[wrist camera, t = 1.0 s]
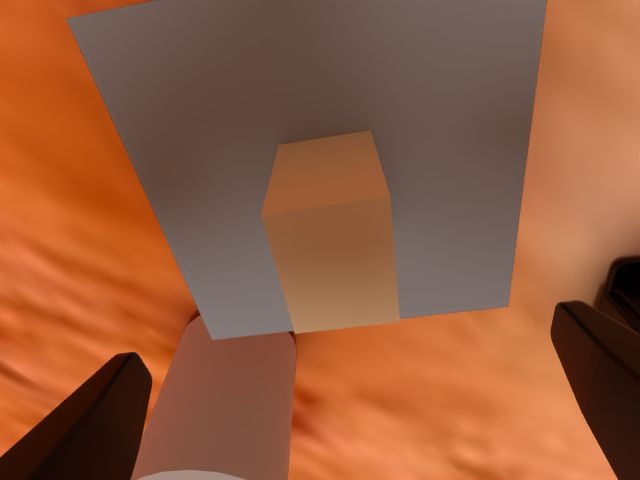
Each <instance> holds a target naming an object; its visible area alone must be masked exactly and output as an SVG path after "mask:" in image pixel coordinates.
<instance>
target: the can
mask: <svg viewBox="0 0 640 480" xmlns="http://www.w3.org/2000/svg"><path fill="white" fill-rule="evenodd" d="M296 353H297V351H296V347H295V343H294V339H293V338H292V336H291V335H290V334H289V332H279V333H270V334H261V335H252V336H244V337H235V338H226V339H217V340H212V339H211V336H210V334H209V332H208V330H207V328H206V325H205V323H204V321H203V319H202V317H201V315H200V316H198V317H197V318H195V319H194V320H193V321H192V322H191V323H189V324H188V325H187V326H186V328H185V330H184V332H183V334H182V336H181V339H180V341H179V344H178V347H177V349H176V352H175V354H174V357H173V360H172V362H171V365H170V367H169V370H168V373H167V375H166V378H165V380H164V383H163V386H162V388H161V391H160V393H159V396H158V399H157V401H156V404H155V406H154V409H153V412H152V414H151V417H150V419H149V422H148V425H147V427H146V430H145V432H144V435H143V438H142V440H141V444H140V449H139V453H138V456H137V460H136V464H135V467H134V471H133V474H132V477H131V480H288V471H289V456H290V441H291V427H292V412H293V397H294V383H295V368H296Z"/></svg>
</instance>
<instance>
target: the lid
mask: <svg viewBox="0 0 640 480" xmlns="http://www.w3.org/2000/svg"><path fill="white" fill-rule="evenodd" d="M546 4H547V0H155V1H150V2H145V3H140V4H135V5H130V6H125V7H120V8H115V9H110V10H105V11H100V12H95V13H90V14H85V15H80V16H75V17H70V18H66V20H67V22H68V24H69V26H70V28H71V31H72V33H73V35H74V37H75V39H76V42H77V44H78V46H79V48H80V50H81V53H82V55H83V57H84V59H85V61H86V64H87V66H88V68H89V70H90V72H91V75H92V77H93V79H94V81H95V83H96V86H97V88H98V90H99V92H100V94H101V97H102V99H103V101H104V103H105V105H106V108H107V110H108V112H109V114H110V116H111V119H112V121H113V123H114V125H115V127H116V130H117V132H118V134H119V136H120V138H121V141H122V143H123V145H124V147H125V149H126V152H127V154H128V156H129V158H130V160H131V163H132V165H133V167H134V169H135V171H136V174H137V176H138V178H139V180H140V182H141V185H142V187H143V189H144V191H145V193H146V196H147V198H148V200H149V202H150V204H151V207H152V209H153V211H154V213H155V215H156V218H157V220H158V222H159V224H160V226H161V229H162V231H163V233H164V235H165V237H166V240H167V242H168V244H169V246H170V248H171V251H172V253H173V255H174V257H175V259H176V262H177V264H178V266H179V268H180V270H181V273H182V275H183V277H184V279H185V281H186V284H187V286H188V288H189V290H190V292H191V295H192V297H193V299H194V301H195V303H196V306H197V308H198V310H199V312H200V314H201V317H202V319H203V321H204V323H205V325H206V328H207V330H208V332H209V334H210V336H211V339H212V340H217V339H226V338H235V337H244V336H252V335H261V334H270V333H279V332H288V331H294V332H295V334H297V333H306V332H315V331H324V330H333V329H342V328H351V327H360V326H369V325H378V324H387V323H395V322H400V319H403V318H412V317H421V316H430V315H438V314H447V313H456V312H465V311H474V310H483V309H492V308H500V307H508V303H509V295H510V287H511V280H512V272H513V264H514V256H515V248H516V240H517V232H518V225H519V217H520V209H521V201H522V193H523V185H524V177H525V169H526V162H527V154H528V146H529V138H530V130H531V122H532V114H533V107H534V99H535V91H536V83H537V75H538V67H539V59H540V51H541V44H542V36H543V28H544V20H545V12H546Z"/></svg>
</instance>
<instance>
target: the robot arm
mask: <svg viewBox="0 0 640 480" xmlns="http://www.w3.org/2000/svg"><path fill="white" fill-rule="evenodd" d="M551 339H552V342H553V345H554V347H555V350H556V352H557V354H558V357H559V359H560V362H561V364H562V367H563V369H564V371H565V374H566V376H567V379H568V381H569V383H570V386H571V388H572V391H573V393H574V396H575V398H576V400H577V403H578V405H579V407H580V409H581V412H582V414H583V416H584V418H585V420H586V422H587V424H588V425H589V427H590V429H591V431H592V433H593V435H594V436H595V438H596V440H597V442H598V444H599V446H600V447H601V449H602V451H603V453H604V455H605V457H606V458H607V460H608V462H609V464H610V466H611V468H612V469H613V471H614V473H615V475H616V477H617V479H618V480H640V257H637V258H629V259H622V260H619V261H617V262H616V263H615V264H613V266H612V269H611V272H610V275H609V279H608V282H607V285H606V289H605V292H604V296H603V298H602V301H601V305H600V308H599V311H598V310H597V309H595V308H593V307H591V306H590V305H588V304H586V303H584V302H582V301H580V300H573V301H565V302H559V303H558V304H557V305H556V307H555V311H554V316H553V321H552V326H551ZM151 388H152V377H151V374H150V372H149V371H148V369H147V367H146V366H145V364H144V363H143V361H142V359H141V358H140V356H139V355H138V354H137V353H135V352H129V353H120V354H117V355H115V356H114V357H113V358H111V359H110V360H109V361H108V362H107V363H106V364H105V365H104V366H102V367H101V368H100V369H99V370H98V371H97V372H96V373H95V374H93V375H92V376H91V377H90V378H89V379H88V380H87V381H86V382H84V383H83V384H82V385H81V386H80V387H79V388H78V389H77V390H75V391H74V392H73V393H72V394H71V395H70V396H69V397H68V398H66V399H65V400H64V401H63V402H62V403H61V404H60V405H59V406H58V407H56V408H55V409H54V410H53V411H52V412H51V413H50V414H49V415H47V416H46V417H45V418H44V419H43V420H42V421H41V422H40V423H38V424H37V425H36V426H35V427H34V428H33V429H32V430H31V431H29V432H28V433H27V434H26V435H25V436H24V437H23V438H22V439H20V440H19V441H18V442H17V443H16V444H15V445H14V446H13V447H11V448H10V449H9V450H8V451H7V452H6V453H5V454H3V455H2V456H1V457H0V480H131V477H132V474H133V471H134V467H135V464H136V460H137V456H138V453H139V449H140V444H141V440H142V434H143V429H144V424H145V419H146V414H147V409H148V404H149V398H150V393H151Z"/></svg>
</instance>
